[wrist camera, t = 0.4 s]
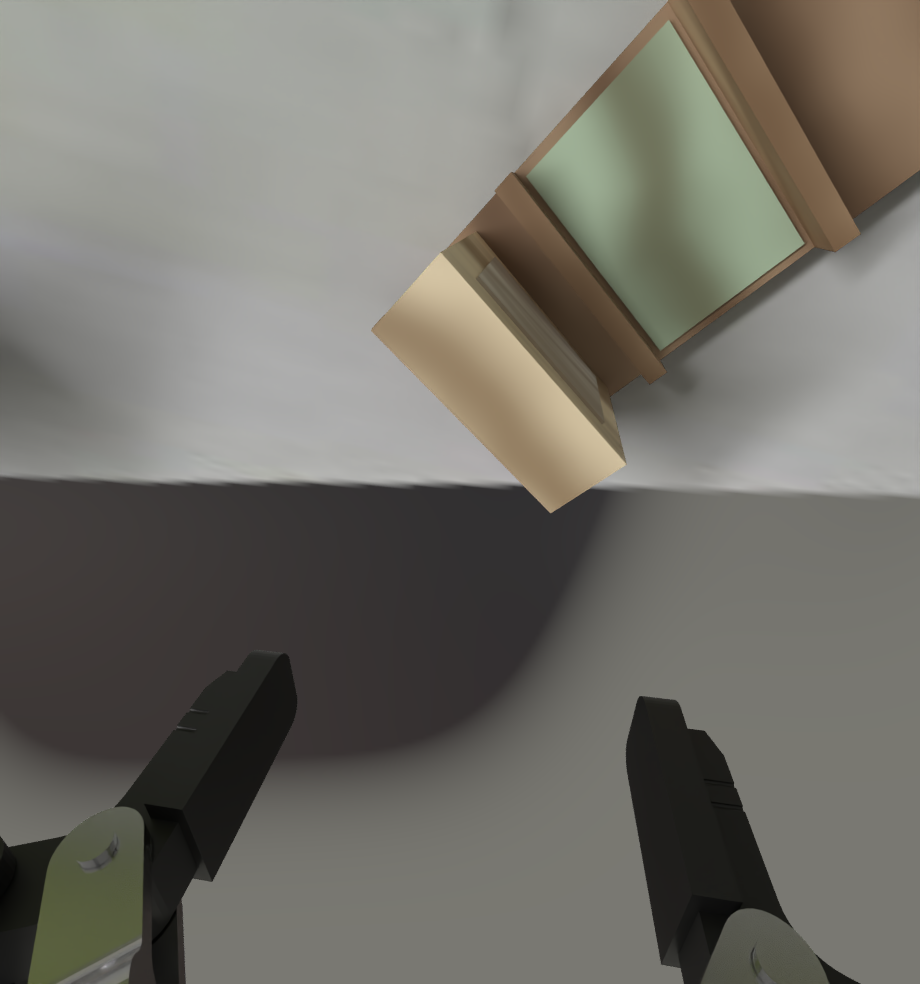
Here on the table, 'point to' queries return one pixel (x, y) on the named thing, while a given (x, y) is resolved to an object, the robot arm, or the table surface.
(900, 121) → the notched rack
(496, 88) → the table surface
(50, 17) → the table surface
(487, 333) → the tall beige wooden block
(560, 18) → the table surface
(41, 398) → the table surface
